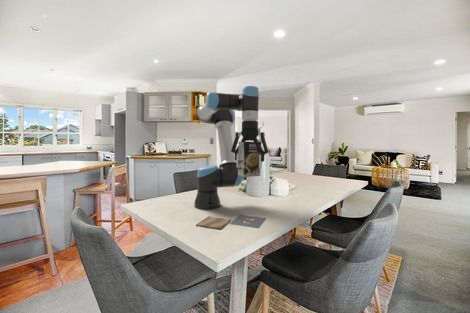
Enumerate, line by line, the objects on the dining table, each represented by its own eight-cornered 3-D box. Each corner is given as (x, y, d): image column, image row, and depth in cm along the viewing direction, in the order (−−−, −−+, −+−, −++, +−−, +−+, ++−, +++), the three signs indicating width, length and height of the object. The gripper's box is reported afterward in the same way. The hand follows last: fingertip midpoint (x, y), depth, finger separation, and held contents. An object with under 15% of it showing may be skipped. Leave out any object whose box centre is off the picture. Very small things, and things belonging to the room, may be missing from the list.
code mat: (229, 223, 108) (229, 223, 108) (239, 214, 121) (239, 214, 121) (258, 228, 103) (258, 227, 103) (266, 218, 116) (266, 217, 116)
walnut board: (196, 225, 105) (196, 224, 105) (208, 217, 116) (208, 216, 116) (220, 229, 101) (220, 228, 101) (230, 220, 112) (230, 219, 112)
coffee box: (244, 177, 105) (244, 141, 104) (237, 175, 111) (237, 141, 110) (261, 176, 110) (261, 141, 108) (253, 174, 115) (254, 141, 114)
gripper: (224, 120, 109) (223, 167, 111) (272, 119, 101) (271, 170, 103) (230, 121, 116) (229, 165, 118) (276, 120, 108) (274, 168, 110)
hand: (249, 167), depth 110 cm, fingers closed on coffee box, 10 cm apart
